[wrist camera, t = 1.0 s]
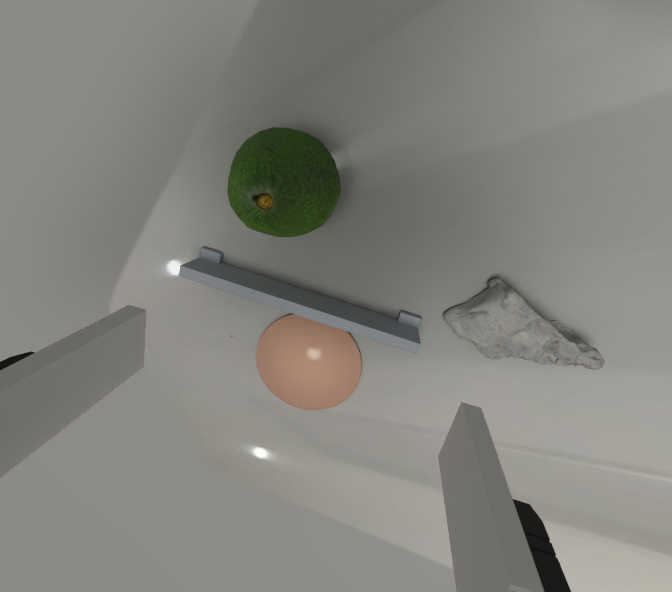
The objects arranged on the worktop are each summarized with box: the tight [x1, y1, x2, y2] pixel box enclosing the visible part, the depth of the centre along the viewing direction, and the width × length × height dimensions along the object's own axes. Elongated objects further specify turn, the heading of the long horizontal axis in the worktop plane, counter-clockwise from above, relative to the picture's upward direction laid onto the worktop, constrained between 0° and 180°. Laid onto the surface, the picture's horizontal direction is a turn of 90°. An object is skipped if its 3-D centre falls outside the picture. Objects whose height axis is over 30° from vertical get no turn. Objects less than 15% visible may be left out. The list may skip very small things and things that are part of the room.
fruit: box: [228, 127, 341, 237], centre depth 27 cm, size 8×8×12 cm
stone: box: [443, 278, 604, 370], centre depth 32 cm, size 6×12×4 cm, turn 57°
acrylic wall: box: [179, 247, 422, 354], centre depth 34 cm, size 3×22×4 cm, turn 74°
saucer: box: [256, 314, 362, 410], centre depth 38 cm, size 11×11×1 cm
